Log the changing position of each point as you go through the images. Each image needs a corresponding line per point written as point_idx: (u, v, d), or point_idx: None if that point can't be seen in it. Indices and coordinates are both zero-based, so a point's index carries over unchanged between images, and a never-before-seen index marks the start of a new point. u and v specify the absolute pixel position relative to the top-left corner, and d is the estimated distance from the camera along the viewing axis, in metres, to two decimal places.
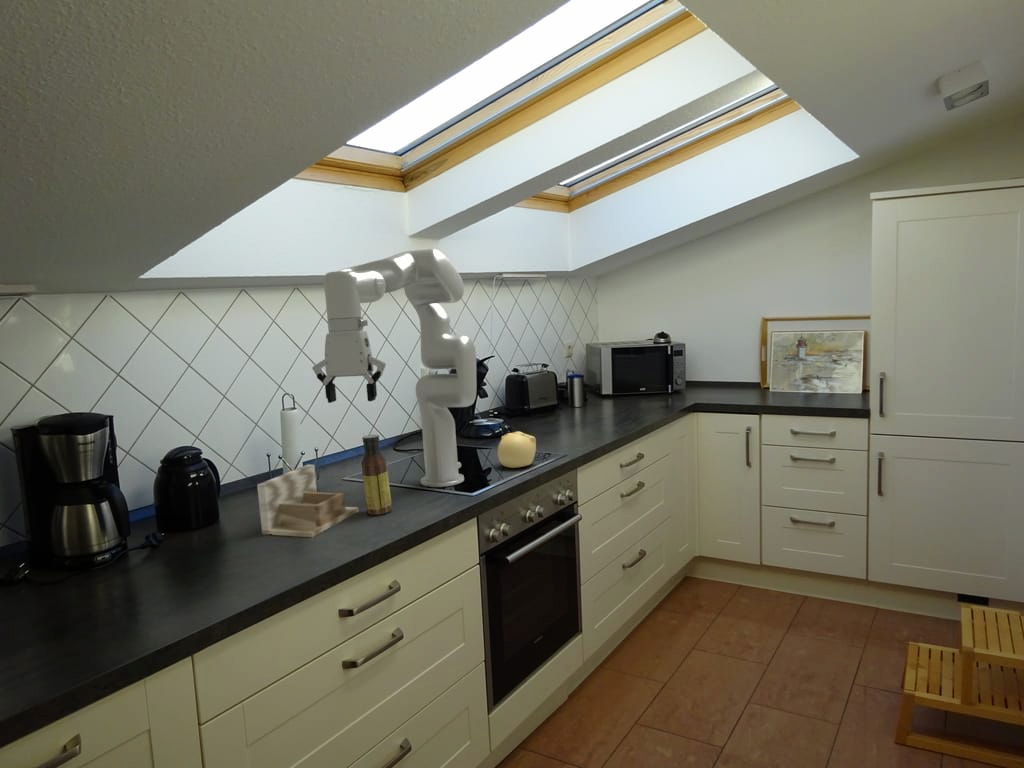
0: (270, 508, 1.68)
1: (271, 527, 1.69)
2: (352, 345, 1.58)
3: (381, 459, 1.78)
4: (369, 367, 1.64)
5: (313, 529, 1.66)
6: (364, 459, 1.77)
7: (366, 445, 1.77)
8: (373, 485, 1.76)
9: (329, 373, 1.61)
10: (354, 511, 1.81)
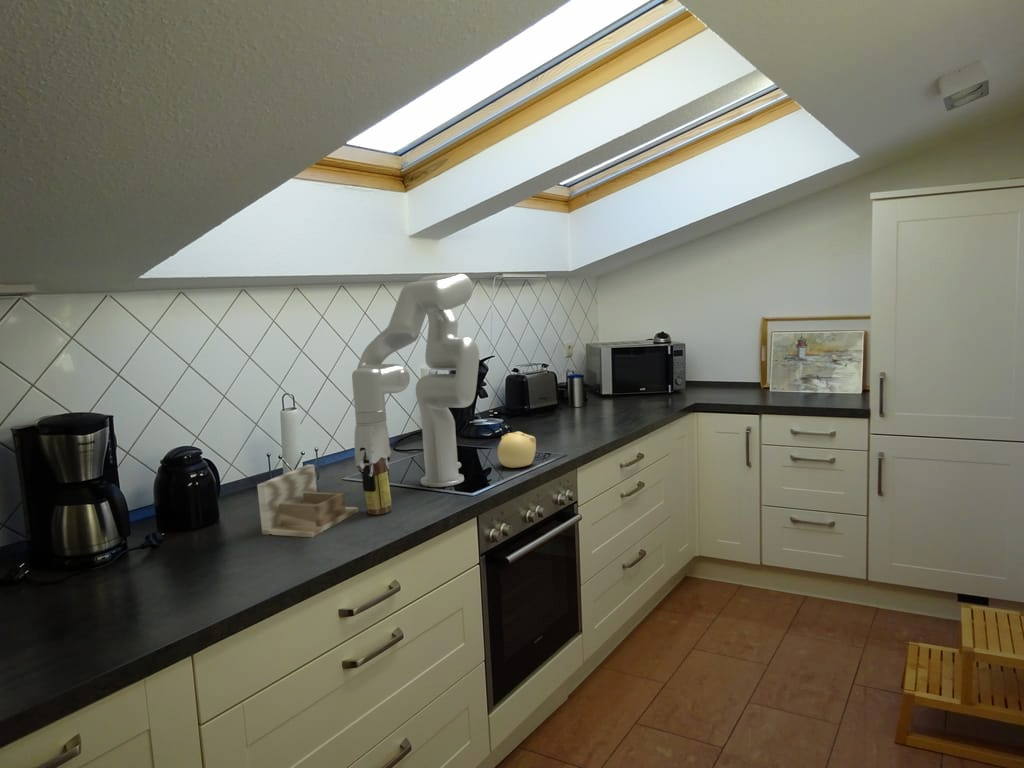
0: (270, 508, 1.68)
1: (271, 527, 1.69)
2: (385, 432, 1.79)
3: (381, 459, 1.78)
4: None
5: (313, 529, 1.66)
6: None
7: None
8: None
9: (373, 461, 1.74)
10: (354, 511, 1.81)
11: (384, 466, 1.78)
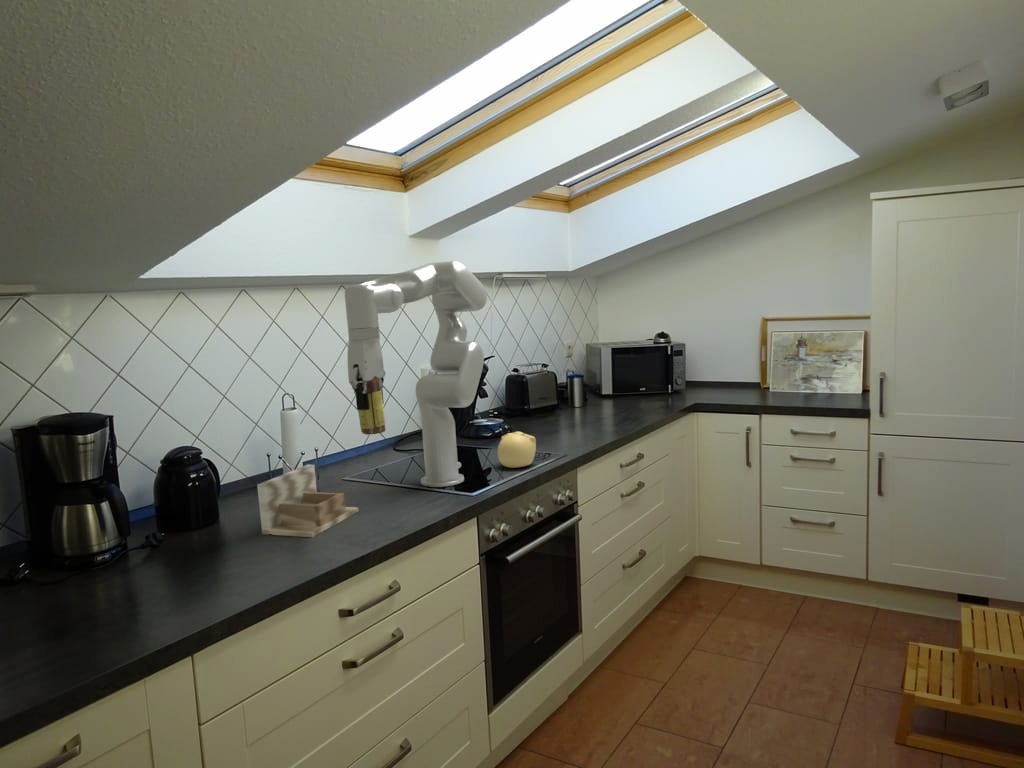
0: (270, 508, 1.68)
1: (271, 527, 1.69)
2: (378, 351, 1.77)
3: (375, 377, 1.75)
4: None
5: (313, 529, 1.66)
6: None
7: None
8: None
9: (366, 378, 1.72)
10: (354, 511, 1.81)
11: (378, 385, 1.76)
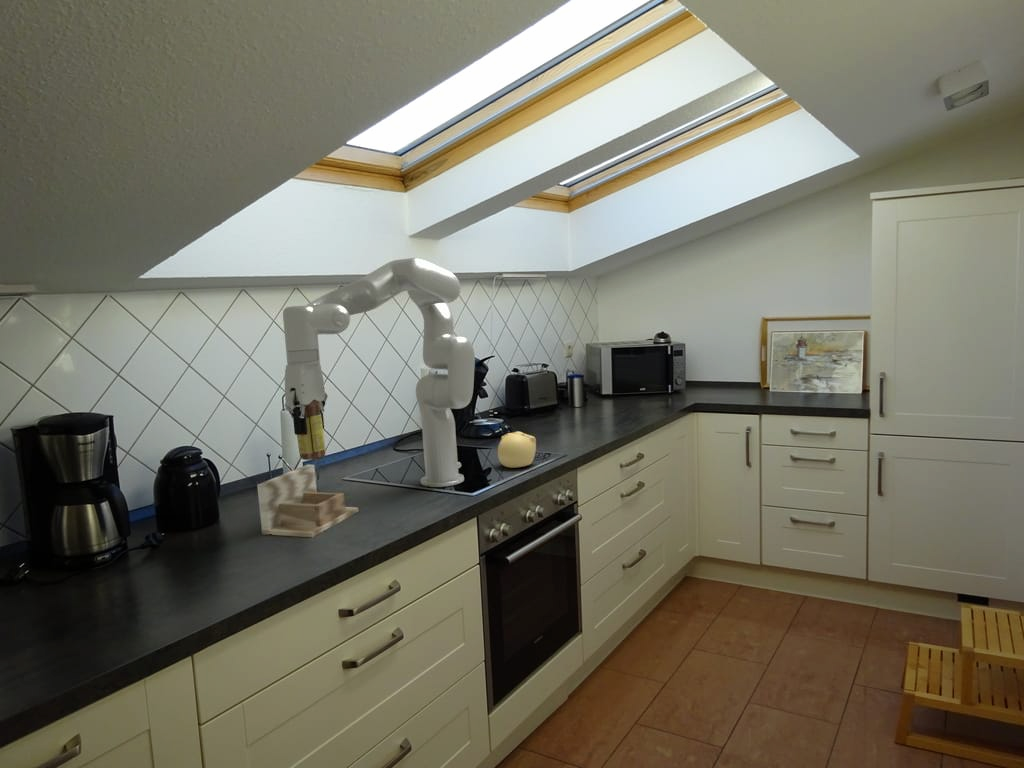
0: (270, 508, 1.68)
1: (271, 527, 1.69)
2: (318, 374, 1.72)
3: (314, 401, 1.70)
4: None
5: (313, 529, 1.66)
6: None
7: None
8: None
9: (304, 402, 1.67)
10: (354, 511, 1.81)
11: (317, 409, 1.70)
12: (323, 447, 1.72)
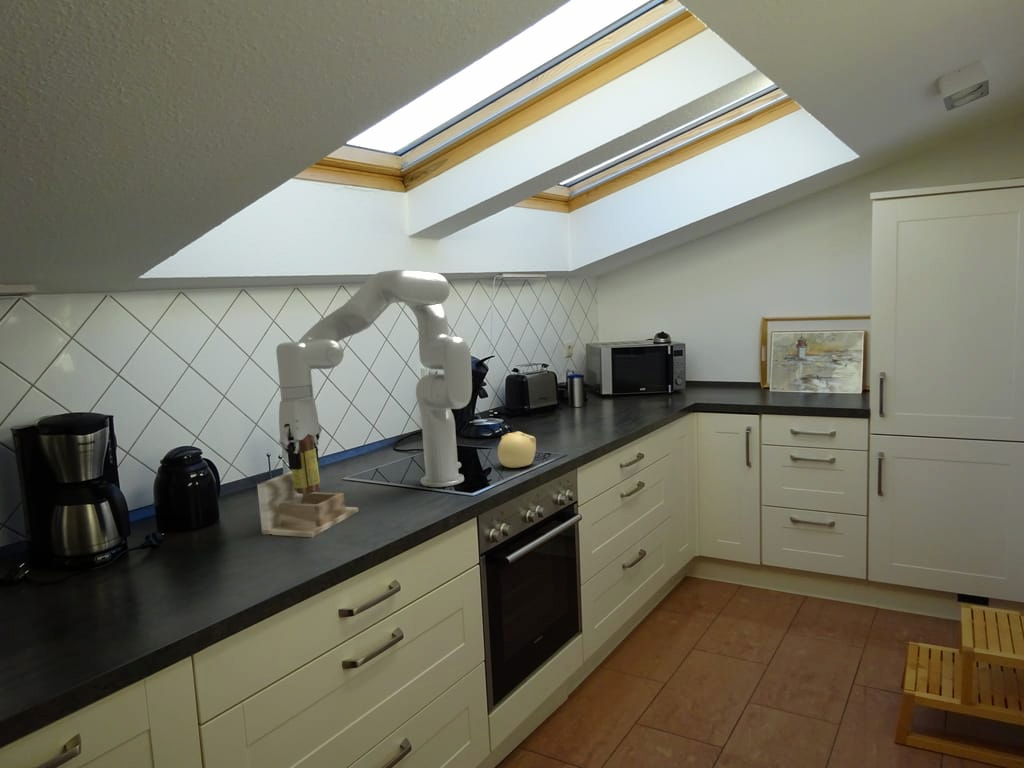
0: (270, 508, 1.68)
1: (271, 527, 1.69)
2: (312, 408, 1.74)
3: (308, 436, 1.72)
4: None
5: (313, 529, 1.66)
6: None
7: None
8: None
9: (298, 438, 1.69)
10: (354, 511, 1.81)
11: (311, 443, 1.72)
12: (318, 481, 1.74)
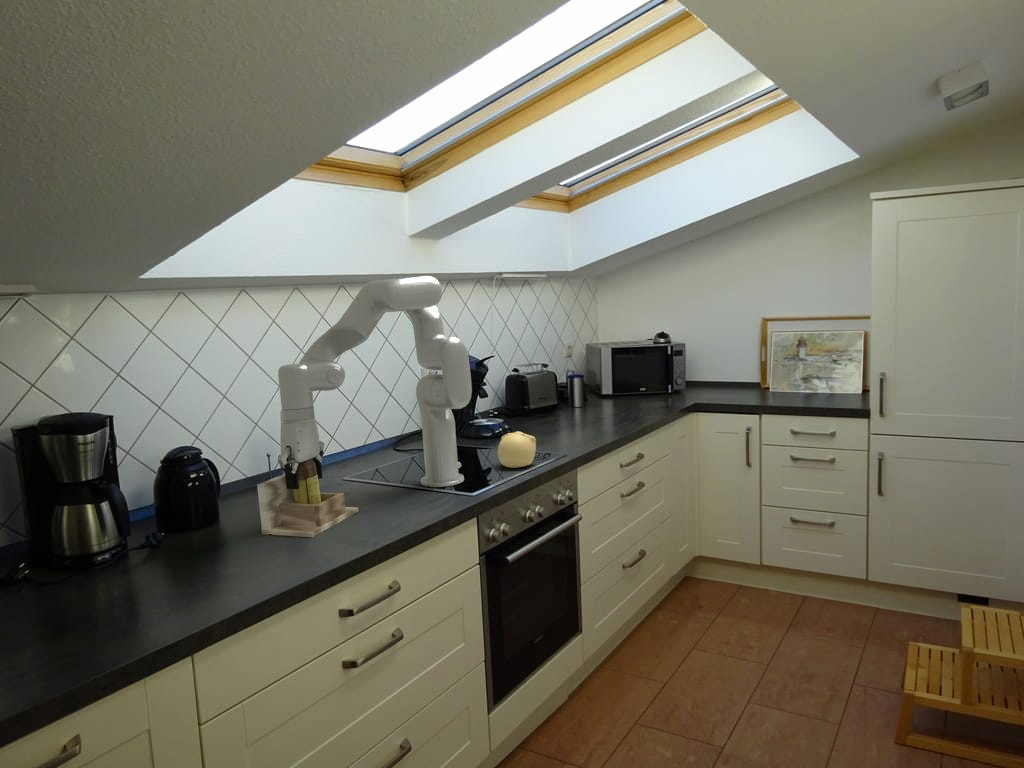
0: (270, 508, 1.68)
1: (271, 527, 1.69)
2: (314, 430, 1.74)
3: (310, 463, 1.73)
4: None
5: (313, 529, 1.66)
6: None
7: None
8: (302, 490, 1.72)
9: (299, 460, 1.69)
10: (354, 511, 1.81)
11: (313, 470, 1.73)
12: None
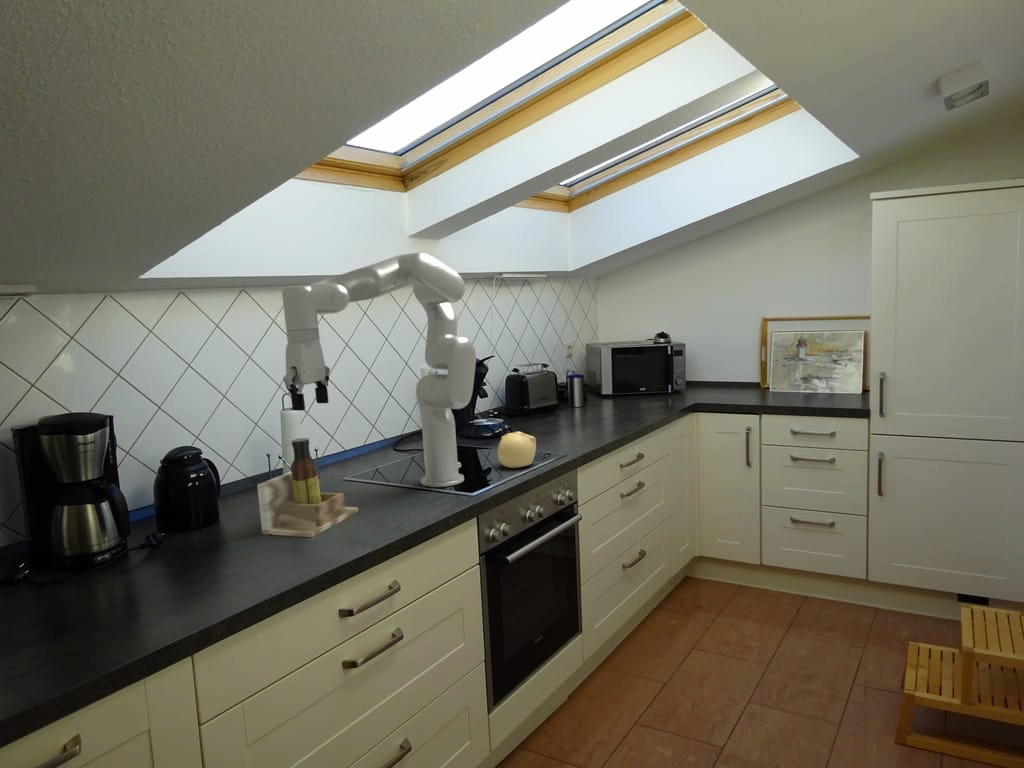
0: (270, 508, 1.68)
1: (271, 527, 1.69)
2: (319, 352, 1.74)
3: (311, 463, 1.73)
4: None
5: (313, 529, 1.66)
6: (293, 463, 1.73)
7: (295, 449, 1.72)
8: (302, 490, 1.72)
9: (305, 381, 1.69)
10: (354, 511, 1.81)
11: (314, 471, 1.73)
12: None
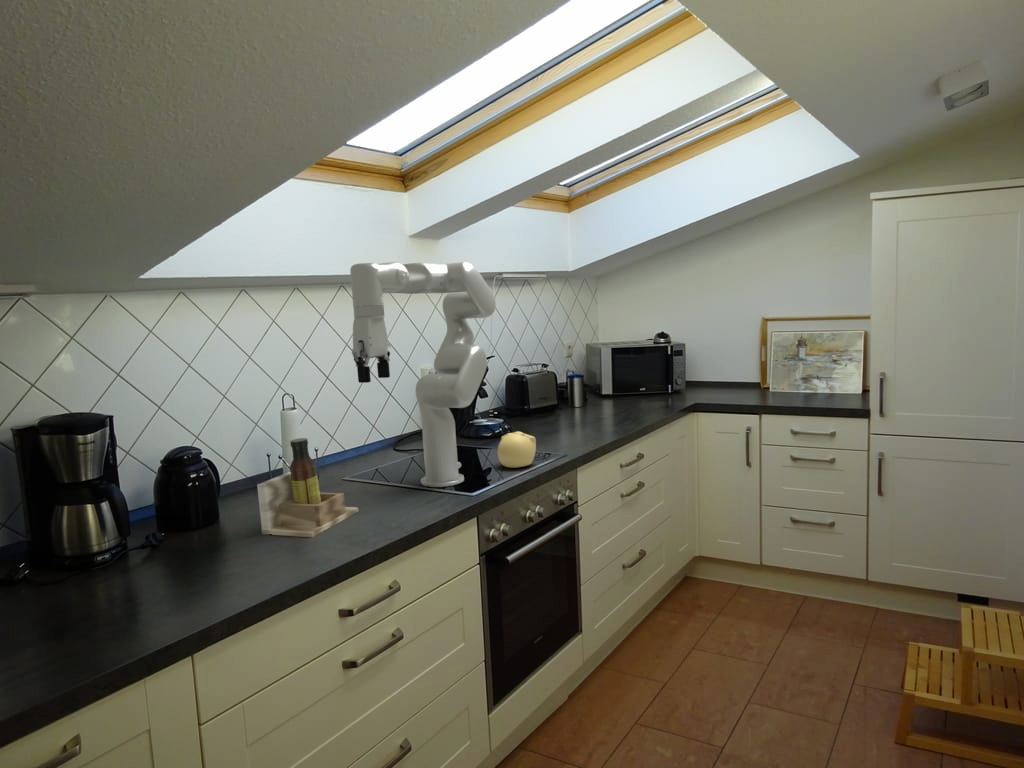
0: (270, 508, 1.68)
1: (271, 527, 1.69)
2: (383, 328, 1.81)
3: (310, 463, 1.73)
4: None
5: (313, 529, 1.66)
6: (292, 463, 1.73)
7: (294, 449, 1.72)
8: (301, 490, 1.72)
9: (371, 354, 1.76)
10: (354, 511, 1.81)
11: (313, 471, 1.73)
12: None
